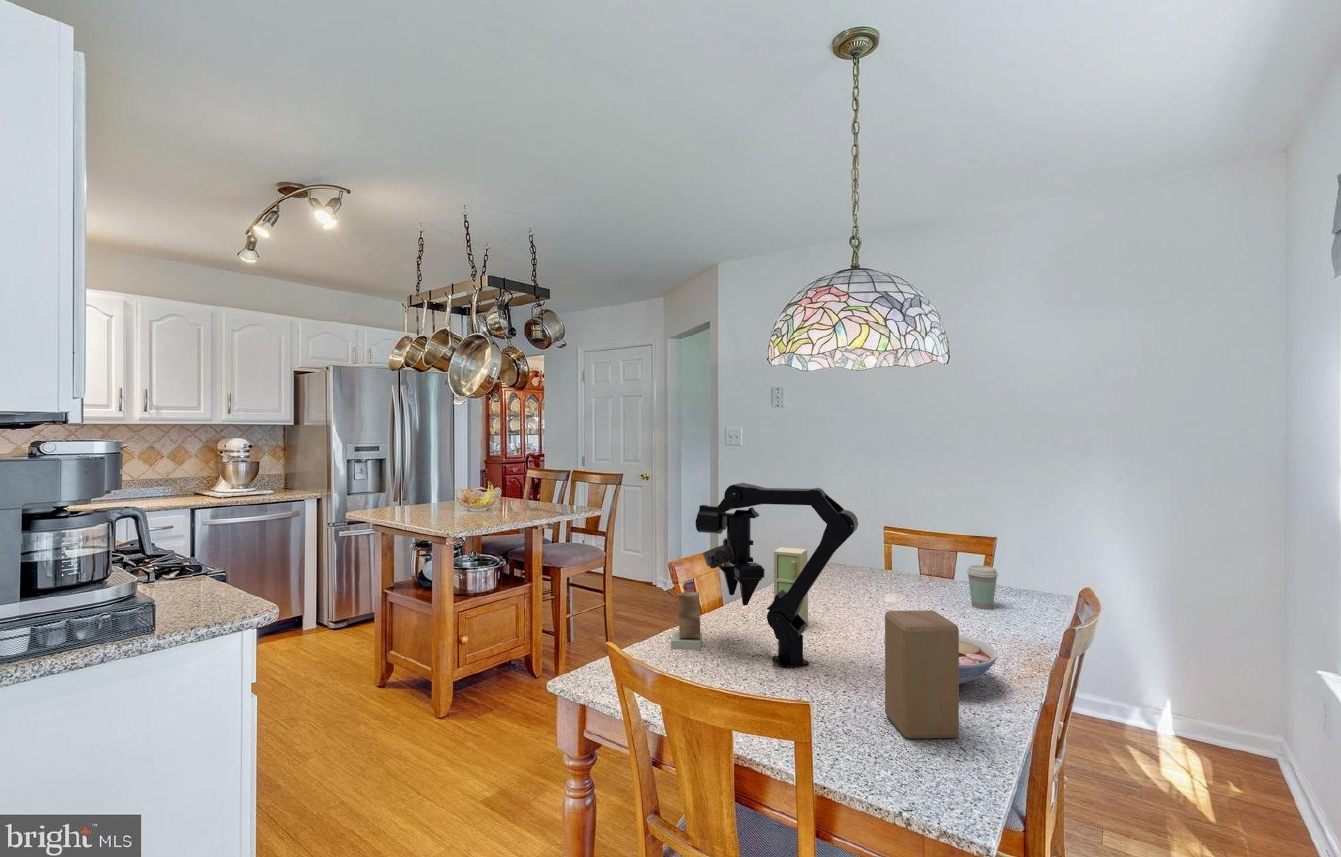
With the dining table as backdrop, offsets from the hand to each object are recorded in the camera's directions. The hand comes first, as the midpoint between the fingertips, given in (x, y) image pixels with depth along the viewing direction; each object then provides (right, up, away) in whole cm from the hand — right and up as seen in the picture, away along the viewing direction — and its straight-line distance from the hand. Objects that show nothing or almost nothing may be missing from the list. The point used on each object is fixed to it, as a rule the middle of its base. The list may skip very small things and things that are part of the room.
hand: (738, 599), depth 149 cm
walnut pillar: (-12, -9, +2) cm, 15 cm away
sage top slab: (-12, -12, +3) cm, 17 cm away
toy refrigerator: (+17, -14, +22) cm, 31 cm away
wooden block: (+29, -13, -37) cm, 49 cm away
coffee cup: (+80, -14, +41) cm, 91 cm away
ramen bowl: (+42, -13, -15) cm, 47 cm away
